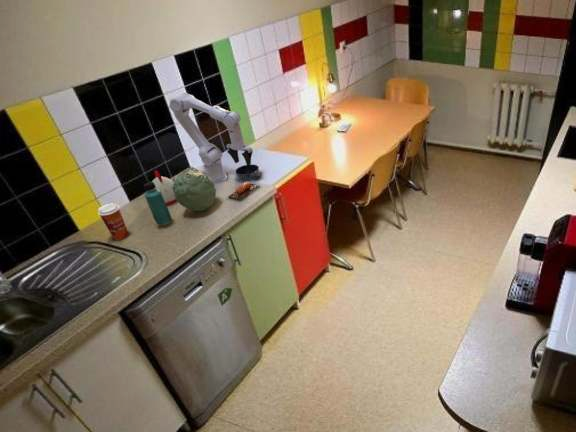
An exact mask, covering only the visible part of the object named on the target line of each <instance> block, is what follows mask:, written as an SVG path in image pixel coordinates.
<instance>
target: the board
mask: <svg viewBox="0 0 576 432" xmlns="http://www.w3.org/2000/svg"><path fill="white" fill-rule="evenodd" d="M250 184H251V186H250V187H249V188H248V189H247V190H245V191H244V192H242V193H241V194H237V193H236V190H235V191H233V192H232V193H231V194H230V195H228V199H229V200H235V201H239V202H241V201H243V200H244V199H245V198H247V197H248V196H250V195H251V194H252V192H253V191H255V190H257V189H258V188H259V187H260V185H259V184H255V183H250Z"/></svg>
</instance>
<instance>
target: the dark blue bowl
mask: <svg viewBox="0 0 576 432" xmlns="http://www.w3.org/2000/svg"><path fill="white" fill-rule="evenodd" d="M234 174H235V178H236V180H237V181H239V182H251V181H254V180H257V179H258V178H259V177H260V176H261V170H260V166H259V165H257V164H252V163H251V164H250V165H247V164H244V165H240V166H238V167H236V168H235V170H234Z"/></svg>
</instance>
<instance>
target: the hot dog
mask: <svg viewBox="0 0 576 432" xmlns="http://www.w3.org/2000/svg"><path fill="white" fill-rule="evenodd" d="M251 184H252V183H250V181H244V183H242V184H241V185H240V186H238V187H236V189H235V191H236V193H237V194H241V193H242V192H244V191H245V190H247V189H248V188H249V187H250V186H251Z"/></svg>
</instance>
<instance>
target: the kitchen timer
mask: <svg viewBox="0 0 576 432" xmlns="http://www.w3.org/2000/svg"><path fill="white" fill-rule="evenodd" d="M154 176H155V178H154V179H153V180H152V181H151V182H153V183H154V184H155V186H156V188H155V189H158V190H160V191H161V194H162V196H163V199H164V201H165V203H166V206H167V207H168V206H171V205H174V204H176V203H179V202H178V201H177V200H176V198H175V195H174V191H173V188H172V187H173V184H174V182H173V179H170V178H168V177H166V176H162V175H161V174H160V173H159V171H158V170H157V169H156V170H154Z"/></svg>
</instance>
